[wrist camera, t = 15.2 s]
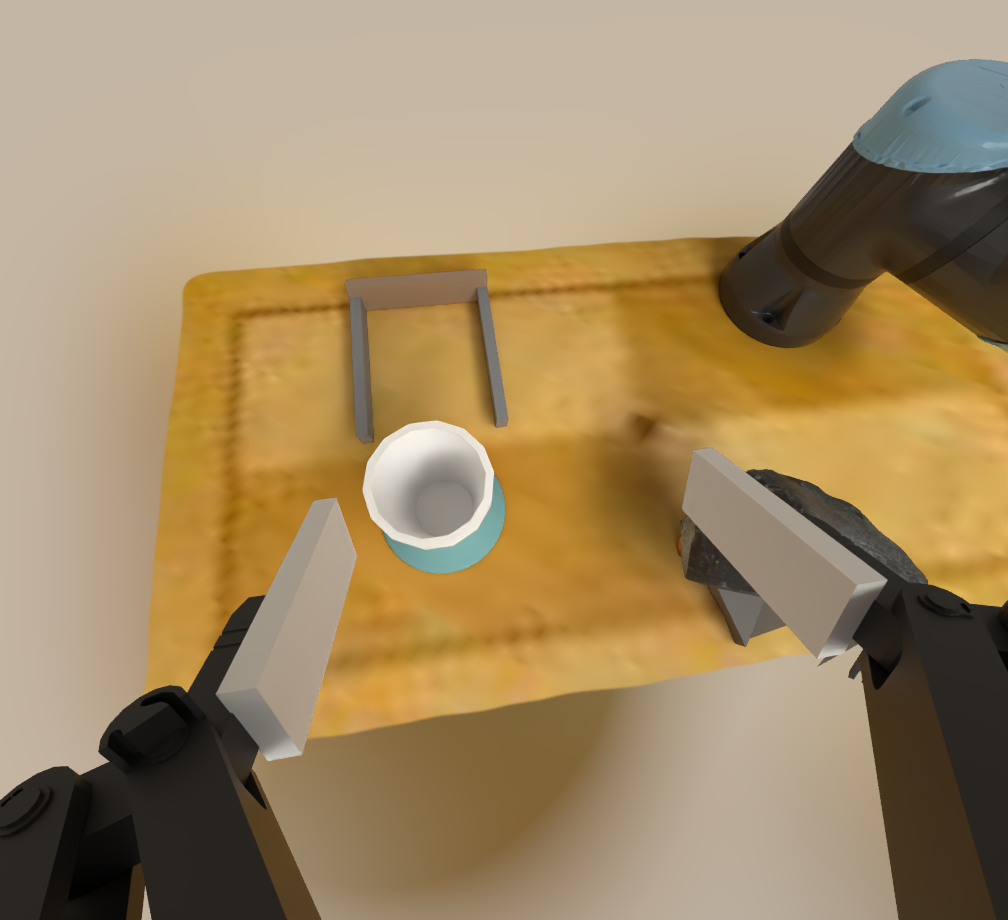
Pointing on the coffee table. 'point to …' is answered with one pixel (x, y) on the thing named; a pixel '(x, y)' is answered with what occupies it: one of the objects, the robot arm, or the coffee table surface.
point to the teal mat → (464, 550)
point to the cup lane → (414, 294)
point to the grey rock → (738, 596)
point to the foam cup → (429, 485)
